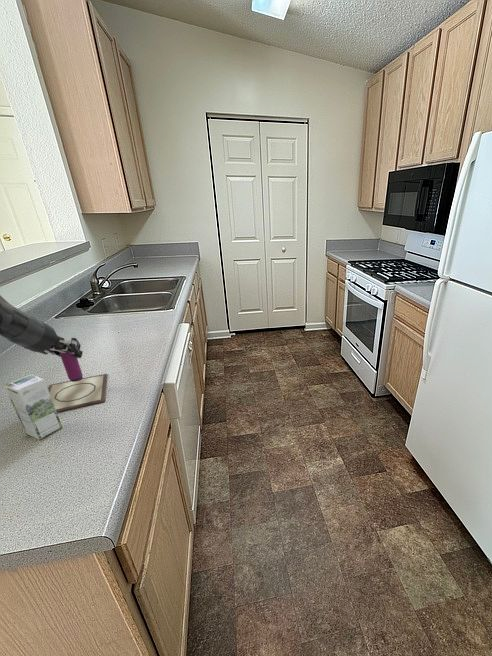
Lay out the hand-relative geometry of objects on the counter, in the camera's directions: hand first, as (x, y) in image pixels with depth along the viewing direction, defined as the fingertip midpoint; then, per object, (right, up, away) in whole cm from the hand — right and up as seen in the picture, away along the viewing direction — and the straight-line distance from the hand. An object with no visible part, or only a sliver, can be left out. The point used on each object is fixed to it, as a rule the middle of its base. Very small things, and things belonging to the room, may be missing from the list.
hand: (73, 355), depth 97 cm
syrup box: (+3, -20, -14) cm, 24 cm away
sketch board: (0, -12, +2) cm, 12 cm away
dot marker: (0, -7, +1) cm, 7 cm away
